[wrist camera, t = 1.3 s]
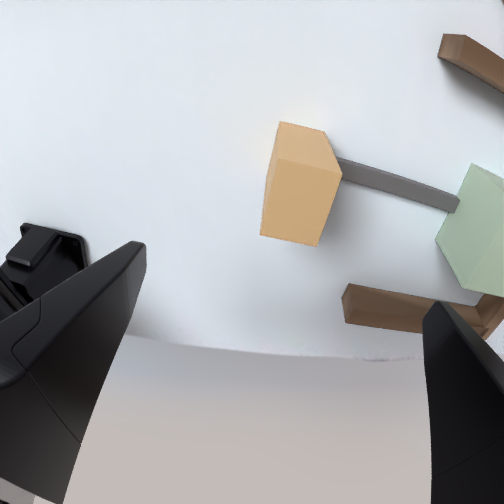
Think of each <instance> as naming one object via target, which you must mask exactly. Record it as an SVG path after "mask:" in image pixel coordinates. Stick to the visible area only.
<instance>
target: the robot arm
mask: <svg viewBox="0 0 504 504" xmlns="http://www.w3.org/2000/svg"><path fill="white" fill-rule="evenodd" d="M20 231H21V235H22V238H21V239H20V240H19V241H18V243H17V244H16V245H15V246H14V247H13V248H12V249H11V250H10V251H9V253H8V254H7V255H6V261H5V262H4V263H3V264H2V266H1V267H0V504H33V501H34V498H35V495H37V496H39V497H41V498H43V499H46V500H48V501H51V502H53V503H55V504H63V501H64V497H65V494H66V491H67V487H68V484H69V480H70V477H71V474H72V471H73V468H74V465H75V462H76V458H77V455H78V452H79V449H80V446H81V444H80V443H82V440H83V437H84V434H85V432H86V429H87V426H88V423H89V421H90V418H91V415H92V412H93V409H94V407H95V404H96V401H97V399H98V396H99V394H100V391H101V389H102V386H103V384H104V381H105V379H106V376H107V374H108V371H109V369H110V366H111V364H112V361H113V359H114V356H115V354H116V351H117V349H118V347H119V345H120V342H121V340H122V338H123V335H124V333H125V331H126V328H127V326H128V324H129V321H130V319H131V316H132V313H133V310H134V307H135V304H136V301H137V297H138V294H139V291H140V288H141V285H142V282H143V279H144V276H145V273H146V267H147V263H146V245H145V244H144V243H141V242H137V241H130V242H128V243H127V244H125V245H123V246H122V247H120V248H118V249H116V250H115V251H113V252H111V253H110V254H108V255H106V256H105V257H103V258H101V259H100V260H98V261H96V262H95V263H93V264H91V265H90V266H88V267H87V262H86V256H85V250H84V243H83V239H82V238H81V237H80V236H79V235H75V234H71V233H67V232H62V231H58V230H54V229H49V228H45V227H41V226H36V225H32V224H28V223H23V224H22V225H21V226H20ZM76 241H77V242H76ZM422 333H423V350H424V367H425V376H426V384H427V394H428V404H429V417H430V433H431V462H432V480H431V504H504V362H503V361H502V359H501V358H500V357H499V356H498V355H497V354H496V353H495V352H494V350H493V349H492V348H491V347H490V346H489V345H488V344H487V343H486V342H485V341H484V340H483V339H482V337H481V336H480V335H479V334H478V333H477V332H476V331H475V330H474V329H473V328H472V327H471V326H470V325H469V324H468V323H467V322H466V321H465V320H464V319H463V318H462V317H461V316H460V315H459V314H458V313H457V312H456V311H455V310H454V309H453V308H452V307H451V306H450V305H449V304H448V303H447V302H445V301H439V300H438V301H435V302H434V303H433V304H432V306H431V307H430V309H429V310H428V312H427V313H426V314H425V316H424V317H423V320H422Z"/></svg>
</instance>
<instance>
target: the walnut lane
mask: <svg viewBox="0 0 504 504" xmlns="http://www.w3.org/2000/svg"><path fill="white" fill-rule="evenodd" d="M438 57H440V58H442V59H444V60H446V61H448V62H450V63H452V64H454V65H456V66H457V67H459V68H461V69H463V70H465V71H467V72H468V73H470V74H472V75H474V76H475V77H477V78H479V79H480V80H482V81H484V82H485V83H487V84H489V85H490V86H492V87H493V88H495V89H497V90H498V91H500V92H501V93H503V94H504V59H502V58H501V57H499V56H498V55H496V54H495V53H493V52H492V51H490V50H489V49H487V48H486V47H484V46H483V45H481V44H479V43H478V42H476V41H475V40H473V39H471V38H470V37H468V36H466V35H458V34H443V37H442V41H441V45H440V49H439V53H438ZM435 301H438V300H434V299H428V298H423V297H418V296H412V295H407V294H401V293H396V292H391V291H385V290H380V289H375V288H370V287H364V286H359V285H354V284H348V286H347V288H346V290H345V292H344V294H343V296H342V304H343V310H344V317H345V323H349V324H355V325H362V326H369V327H376V328H383V329H391V330H398V331H406V332H414V333H422V320H423V317H424V316H425V314H426V313H427V312H428V310H429V309H430V307H431V306H432V304H433V303H434V302H435ZM447 303H448V304H449V305H450V306H451V307H452V308H453V309H454V310H455V311H456V312H457V313H458V314H459V315H460V316H461V317H462V318H463V319H464V320H465V321H466V322H467V323H468V324H469V325H470V326H471V327H472V328H473V329H474V330H475V331H476V332H477V333H478V334H479V335H480V336H481V337H482V339H483V340H486V339H487V338H488V337H489V336H490V335H491V333H492V332H493V331H494V330H495V329H496V327H497V326H498V325H499V324H500V323H501V321H502V320H503V319H504V297H500V296H496V295H491V294H486V293H485V294H484V296H483V297H482V298H481V300H480V301H479V302H478V304H477V305H476V306H475V307H473V306H467V305H461V304H456V303H450V302H447ZM422 334H423V333H422Z"/></svg>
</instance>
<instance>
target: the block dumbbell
mask: <svg viewBox="0 0 504 504" xmlns="http://www.w3.org/2000/svg"><path fill="white" fill-rule="evenodd" d="M341 179H344V180H347V181H351V182H355V183H358V184H362V185H366V186H369V187H373V188H376V189H379V190H383V191H386V192H390V193H393V194H396V195H399V196H403V197H406V198H409V199H412V200H415V201H418V202H421V203H425V204H428V205H431V206H434V207H437V208H439V209H442V210H445V211H448V212H449V213H448V215H447V217H446V219H445V221H444V223H443V225H442V227H441V229H440V231H439V233H438V235H437V236H436V238H435V240H436V242H437V243H438V245H439V247H440V248H441V250H442V252H443V254H444V255H445V257H446V259H447V261H448V263H449V264H450V266H451V268H452V270H453V272H454V274H455V275H456V277H457V279H458V281H459V283H460V285H461V287H462V288H464V289H468V290H473V291H477V292H482V293H486V294H491V295H496V296H500V297H504V179H503V178H501V177H499V176H497V175H495V174H493V173H491V172H489V171H487V170H485V169H483V168H481V167H479V166H477V165H475V164H472V163H471V165H470V168H469V170H468V172H467V175H466V177H465V179H464V182H463V184H462V186H461V188H460V190H459V192H458V195H457V196H455V195H452V194H449V193H447V192H444V191H441V190H439V189H436V188H433V187H431V186H428V185H425V184H422V183H419V182H416V181H413V180H410V179H408V178H405V177H402V176H398V175H395V174H392V173H389V172H386V171H383V170H380V169H376V168H373V167H370V166H366V165H363V164H360V163H356V162H353V161H349V160H345V159H342V158H338V157H335V155H334V153H333V150H332V148H331V146H330V143H329V141H328V139H327V137H326V134H325V132H323V131H319V130H315V129H311V128H307V127H303V126H299V125H295V124H290V123H286V122H282V121H280V122H279V126H278V130H277V134H276V139H275V143H274V147H273V152H272V156H271V160H270V165H269V169H268V173H267V177H266V186H265V194H264V203H263V211H262V220H261V228H260V235H262V236H267V237H272V238H276V239H281V240H286V241H291V242H296V243H300V244H305V245H310V246H314V247H317V245H318V242H319V239H320V236H321V234H322V231H323V228H324V226H325V223H326V220H327V217H328V214H329V212H330V209H331V206H332V203H333V200H334V197H335V195H336V192H337V189H338V186H339V183H340V180H341Z"/></svg>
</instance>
